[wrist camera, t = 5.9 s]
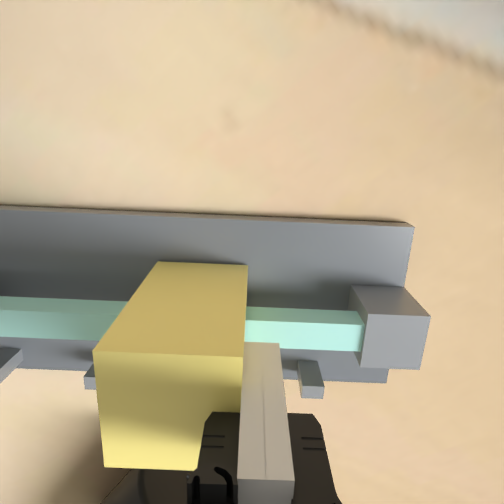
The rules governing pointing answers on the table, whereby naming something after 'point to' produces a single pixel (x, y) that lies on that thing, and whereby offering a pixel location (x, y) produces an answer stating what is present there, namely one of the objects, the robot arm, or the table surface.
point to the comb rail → (212, 252)
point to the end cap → (151, 487)
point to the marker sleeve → (171, 364)
